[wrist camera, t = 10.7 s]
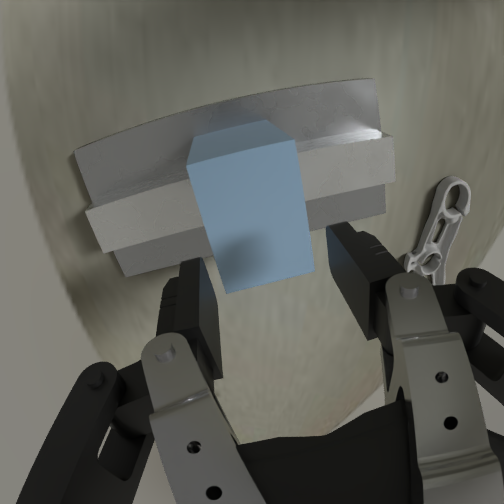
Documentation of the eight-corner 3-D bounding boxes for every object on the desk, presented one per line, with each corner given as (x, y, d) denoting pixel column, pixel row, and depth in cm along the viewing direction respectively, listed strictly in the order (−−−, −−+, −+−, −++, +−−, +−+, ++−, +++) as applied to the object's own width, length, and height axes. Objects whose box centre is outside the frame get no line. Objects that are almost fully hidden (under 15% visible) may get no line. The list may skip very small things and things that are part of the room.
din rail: (367, 78, 19) (393, 80, 16) (379, 207, 24) (401, 227, 21) (78, 147, 19) (57, 161, 16) (128, 270, 24) (118, 297, 21)
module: (266, 119, 19) (294, 139, 12) (285, 214, 22) (314, 271, 16) (193, 137, 19) (186, 165, 12) (220, 230, 22) (226, 293, 16)
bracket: (496, 195, 23) (435, 325, 30) (483, 188, 25) (427, 314, 31) (446, 174, 21) (381, 326, 28) (432, 167, 23) (373, 313, 30)
